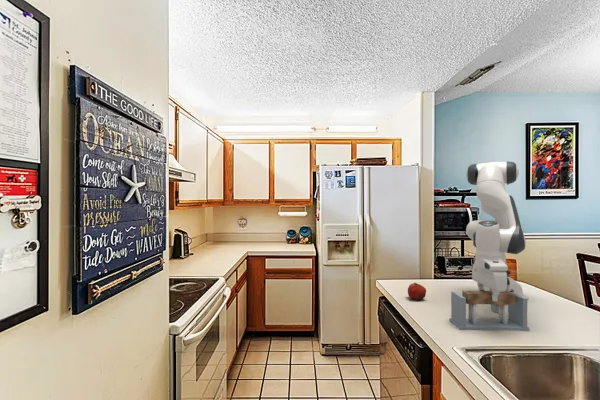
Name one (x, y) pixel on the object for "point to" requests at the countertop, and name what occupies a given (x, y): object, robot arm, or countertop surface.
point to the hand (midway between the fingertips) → (487, 297)
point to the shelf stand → (508, 319)
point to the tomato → (416, 291)
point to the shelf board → (488, 297)
